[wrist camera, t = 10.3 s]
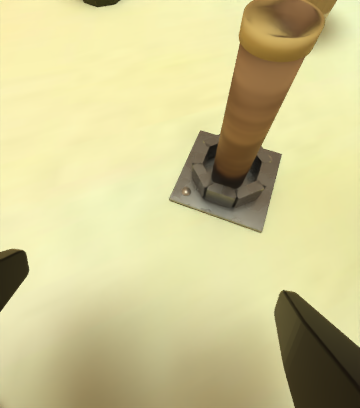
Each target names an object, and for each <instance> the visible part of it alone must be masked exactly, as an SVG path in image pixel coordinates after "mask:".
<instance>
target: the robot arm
mask: <svg viewBox="0 0 360 408" xmlns="http://www.w3.org/2000/svg"><path fill="white" fill-rule="evenodd" d="M28 272H29V266H28V260H27V255H26V252H25V251H23V250H19V249H9V250H6V251H2V252H0V312H1V310H2V309H3V308H4V306H5V305H6V304H7V302H8V301H9V300H10V298H11V297H12V296H13V294H14V293H15V292H16V290H17V289H18V287H19V286H20V285H21V283H22V282H23V281H24V279H25V278H26V277H27V275H28ZM274 316H275V322H276V327H277V333H278V339H279V344H280V350H281V356H282V361H283V366H284V370H285V374H286V378H287V381H288V385H289V388H290V392H291V396H292V399H293V403H294V406H295V408H360V347H358V346H357V345H356V344H355V343H354V342H353V341H351V340H350V339H349V338H348V337H347V336H346V335H344V334H343V333H342V332H341V331H340V330H339V329H337V328H336V327H335V326H334V325H333V324H332V323H330V322H329V321H328V320H327V319H326V318H325V317H324V316H322V315H321V314H320V313H319V312H318V311H317V310H315V309H314V308H313V307H312V306H311V305H310V304H308V303H307V302H306V301H305V300H304V299H303V298H301V297H300V296H299V295H298V294H297V293H295V292H292V291H285V290H283V291H281V292H280V294H279V297H278V300H277V304H276V307H275V311H274Z"/></svg>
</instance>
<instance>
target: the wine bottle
mask: <svg viewBox="0 0 360 408" xmlns="http://www.w3.org/2000/svg"><path fill="white" fill-rule="evenodd" d="M83 1H84V3H87V4H90V5H93V6H96V7H100V6H107V5H113V4H116V3H117V2H118V1H120V0H83Z"/></svg>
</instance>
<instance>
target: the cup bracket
mask: <svg viewBox="0 0 360 408" xmlns="http://www.w3.org/2000/svg"><path fill="white" fill-rule="evenodd" d="M219 138H220V134H219V135H214V134H211V133H207V132H204V131H201V130H200V132H199V135H198V137H197V139H196V141H195V143H194V146H193V148H192V150H191V152H190V154H189V157H188V159H187V161H186V163H185V165H184V167H183V170H182V172H181V174H180V176H179V178H178V181H177V183H176V185H175V187H174V189H173V192H172V194H171V196H170V198H169V200H170V201H173V202H176V203H179V204H181V205H184V206H187V207H190V208H193V209H196V210H198V211H201V212H204V213H207V214H210V215H212V216H215V217H218V218H221V219H224V220H227V221H229V222H232V223H235V224H238V225H241V226H244V227H246V228H249V229H252V230H255V231H258V232H262V230H263V226H264V222H265V218H266V214H267V210H268V206H269V203H270V199H271V195H272V191H273V187H274V183H275V179H276V175H277V171H278V167H279V163H280V159H281V155H282V154H280V153H277V152H273V151H270V150H266V149H263V148H262V146H261V147H260V149H259V151H258V153H257V155H256V157H255V159H254V161H253V163H252V165H251V167H250V169H249V171H248V173H247V175H246V177H245V179H244V182H243V183H242V185H241V186H240V187H239V188H237V189H233V188H230V187H227V186H224V185H221V184H217V183H214V182H213V180H212V170H213V165H214V161H215V156H216V151H217V147H218V142H219Z"/></svg>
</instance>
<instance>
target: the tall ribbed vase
mask: <svg viewBox="0 0 360 408" xmlns="http://www.w3.org/2000/svg"><path fill="white" fill-rule="evenodd" d="M324 25H325V18H324V15H323V13H322V12H321V11H320V9H318V8H317V7H316V6H315V5H313V4H312V3H310V2H308V1H306V0H253V1H251V2H250V3H249V4H248V5H247V6H246V7H245V9H244V13H243V17H242V22H241V27H240V32H239V41H240V45H239V50H238V54H237V59H236V64H235V68H234V73H233V78H232V82H231V87H230V91H229V96H228V101H227V105H226V110H225V114H224V119H223V124H222V128H221V133H220V138H219V142H218V147H217V151H216V156H215V161H214V165H213V170H212V180H213V182H214V183H217V184H221V185H224V186H227V187H230V188H233V189H237V188H239V187H240V186H241V185H242V183H243V182H244V179H245V177H246V175H247V173H248V171H249V169H250V167H251V165H252V163H253V161H254V159H255V157H256V155H257V153H258V151H259V149H260V147H261V145H262V143H263V141H264V139H265V137H266V135H267V133H268V131H269V129H270V127H271V125H272V123H273V121H274V119H275V117H276V115H277V113H278V111H279V109H280V107H281V105H282V103H283V101H284V99H285V97H286V95H287V92H288V90H289V88H290V86H291V84H292V82H293V80H294V78H295V76H296V74H297V72H298V70H299V68H300V66H301V64H302V62H303V60H304V58H305V56H306V55H308V54H309V53H310V52H311V50H312V49H313V47H314V45H315V43H316V41H317V39H318V37H319V35H320V33H321V31H322V29H323V27H324Z"/></svg>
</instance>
